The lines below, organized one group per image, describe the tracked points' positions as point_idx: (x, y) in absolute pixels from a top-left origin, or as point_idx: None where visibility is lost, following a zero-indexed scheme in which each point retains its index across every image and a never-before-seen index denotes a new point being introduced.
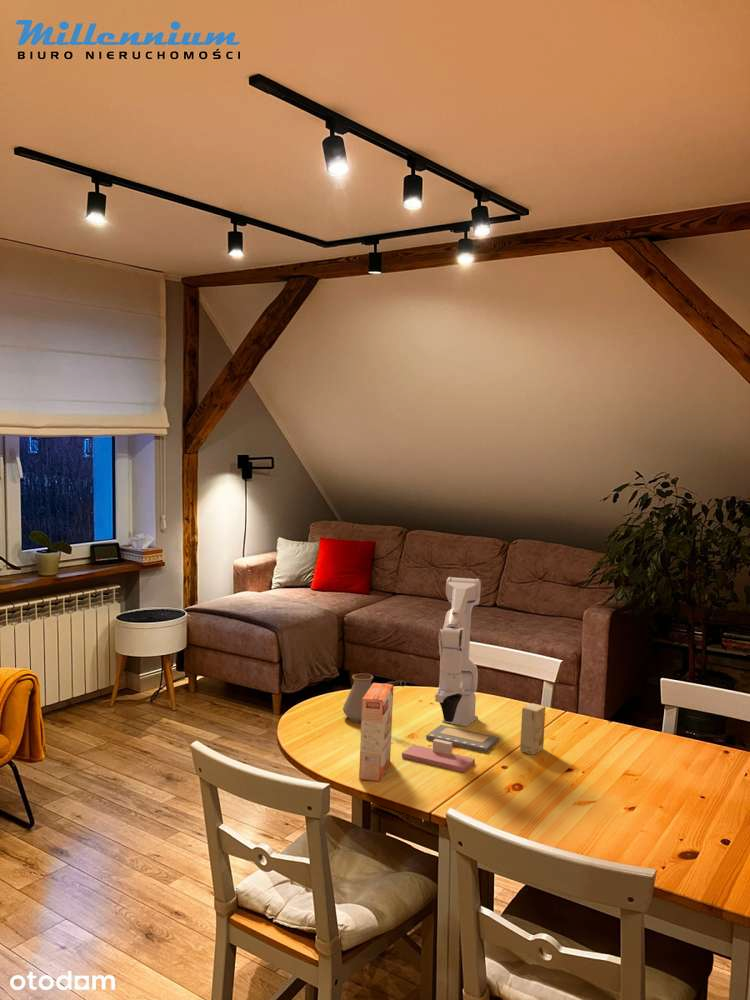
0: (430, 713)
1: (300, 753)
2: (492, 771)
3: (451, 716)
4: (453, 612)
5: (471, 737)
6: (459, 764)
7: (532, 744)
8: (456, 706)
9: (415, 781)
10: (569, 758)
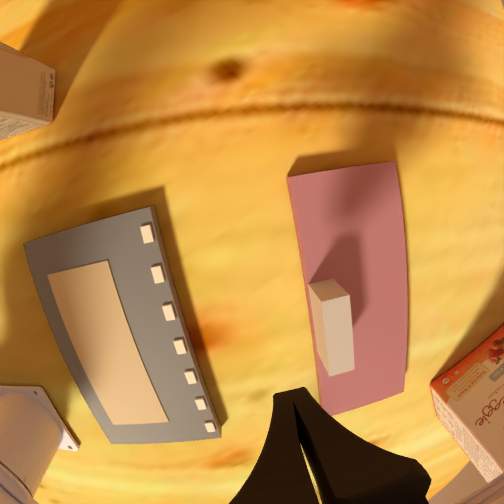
0: (73, 477)
1: (453, 472)
2: (300, 84)
3: (320, 408)
4: None
5: (103, 322)
6: (382, 194)
7: (35, 64)
8: (280, 455)
9: (497, 248)
10: (27, 5)
